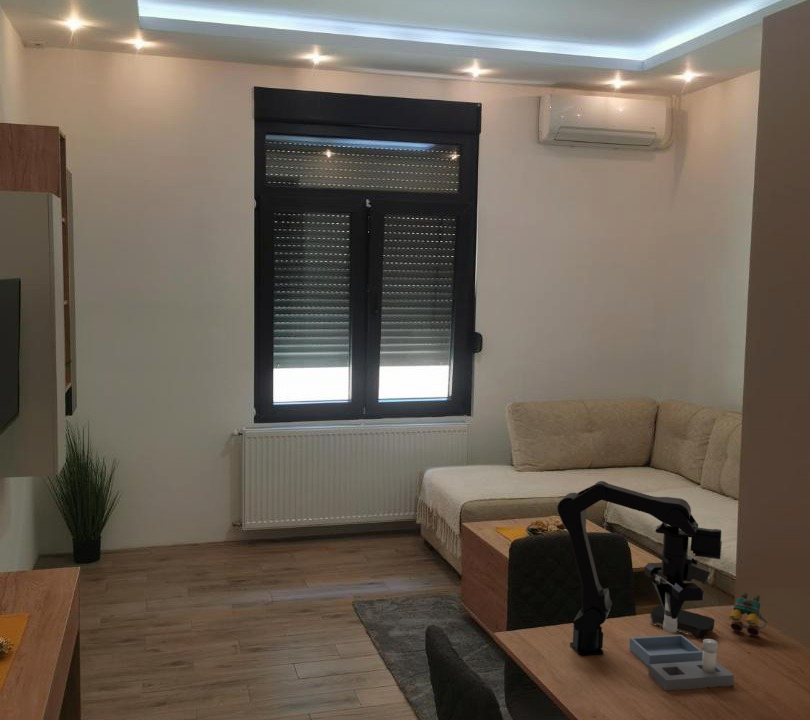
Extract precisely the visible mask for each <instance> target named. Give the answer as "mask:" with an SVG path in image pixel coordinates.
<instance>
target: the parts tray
mask: <svg viewBox="0 0 810 720" xmlns="http://www.w3.org/2000/svg"><path fill="white" fill-rule="evenodd" d="M628 649H630V650H629V651H630V652H632V653H633V654H634V655H635V656H636V657H637V658H638V659H639V660H640V661H641V662H644V663H643V664H644V665H645V666H646V667H648V668H649V664H662V663H677V662H691V661H702V656H703V649H702V650H701V648H699V647H698V646H696V645H695V644H694V643H693V642H692V641H690V640H689V639H688V638H687V637H685V636H684V635H683V634H671V635H656V636H655V635H654V636H640V637H639V636H638V637H637V636H636V637H629V648H628Z"/></svg>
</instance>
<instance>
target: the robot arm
mask: <svg viewBox="0 0 810 720" xmlns="http://www.w3.org/2000/svg"><path fill="white" fill-rule="evenodd" d="M600 501H604V502H607V503H611V504H614V505H616V506H617V505H618V506H620V507H621V506H622V507H625V508H627V509H632V510H635V511H638V512H640V513H641V512H642V513H645V514H648V515H650V516H652V517H654V518H655V519H657V520H658V521H659V522H662V523H661V524H659V525H657V526H656V527H655V531H654V532H655V533H656V534H662V535H663V536H662V537H663V540H662V551H661V552H662V553H658V559H660V560H661V562H648V563H647V564H646V565H645V566H644V575H645V576H647V577H648V578H652V577H653V576H655V580H652V581H651V583H652V584H653V586H654V588H655V591H656V593H657V596H658V598H659V601H660V603H661V605H662V606H663V609H664V611H665V593H666V597H667V601H668V606H669V610H670V614H671V617H672V619H676V618H677V616H678V614H679V612H680V610H682V607H683V605H684V603H685V602H689V601H690V602H691V601H692V602H693V601H695V602H696V601H704V597H705V596H704V595H705V591H704V590H703V589H702V588H701V587H700V586H699V585H697V584H696V583H694V582H692V580H695V581H697V582H700V583H701V584H703V585H706V584H707V582H708V579H709V577H710V574H711V571H709V570H708V569H706V568H705V567H703V566H702V565H700V564H698V561H697V559H695V558H694V557H691V556H688V552H689V539H690V538H691V541H690V551H691V552H692V554H695V555H694V556H695V557H701V558H706V559H707V558H708V559H713V560H714V559H715V560H721V555H722V544H723V543H722V530H721V529H719V528H704V527H699V524H698V522H697V521H696V519H695V518H694V516H693V515H692V508H691V505H690V504H689V502H688V501H687V500H685V499H683V498H679V497H670V496H653V495H649V494H646V493H642V492H639V491H636V490H635V491H634V490H631V489H627V488H625V487H622V486H618V485H614V484H610V483H608V482H607V481H605V480H604V481H603V480H599V481H597V482H596V483H595V484H593V485H591V486H589V487H587V488H584V489H582V490H581V491H579V492H569V493H567V494H566V495H565V496H564V497H562V499H561V500H559V502H558V505H557V509H556V510H557V514H558V515H559V518H560V520H561V522H562V525H563V526H564V528H565V529H566V531H567V532H568V535H569V538H570V542H571V547H572V550H573V555H574V558H575V563H576V566H577V571H578V576H579V580H580V583H581V589H582V594H581V606H582V607H581V609H580V610H579V611H578V612H577V614H576V616H575V618H574V620H573V623H572V624H573V632H572V642H569V646H570V647H571V648H572V649H573V650H574V651H575V652H576V653H577V655H579V656H587V655H588V656H589V655H603V654H604V653H605V651H604V650H603V646H604V632H603V629H602V626H601V625H603V624H604V623H605V621H606V619H608V618H607V617H608V615H609V613H610V612H611V607H612V605H613V600H612V599H611V598H610V590H609V587H608V588H603V587H602V585H601V584H600V581H599V577H598V573H597V569H596V565H595V561H594V556H593V553H592V549H591V543H590V541H589V536H588V532H587V509H588V508H591V506H593V505H594V504H596V503H598V502H600ZM653 574H654V575H653ZM685 581H686V582H685Z"/></svg>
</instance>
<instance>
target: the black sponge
mask: <svg viewBox="0 0 810 720" xmlns="http://www.w3.org/2000/svg"><path fill="white" fill-rule="evenodd" d="M664 612H665V611H664V609H663V606H662V604H659V605H656V606H654V607H653V608H652V610H651V611H650V617H649V623H650V624H651V623H652V624H651V625H653V624H656V625H655V626H657V625H659V626H658V627H661V626H663V622H664ZM714 627H715V619H714V618H712V617H710V616H707V615H703V614H701V613H696V612H693V611H692V612H691V611H688V610H684V609H681V610H680V612H679V614H678V616H677V630H678V631H681V632H684V633H688V634H690V635H692V636H691V637H693V636H694V637H693V638H695V637H696V639H705V638H706V636H708V635H709V633H710V632H712V631H714ZM690 635H689V636H690Z"/></svg>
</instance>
